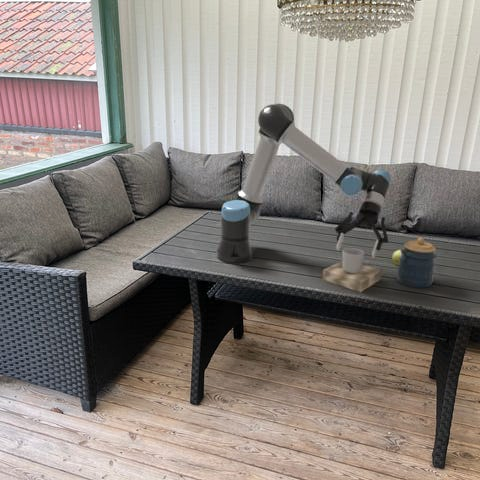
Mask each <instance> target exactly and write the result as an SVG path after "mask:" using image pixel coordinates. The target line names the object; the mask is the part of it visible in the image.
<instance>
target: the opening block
mask: <svg viewBox="0 0 480 480" xmlns="http://www.w3.org/2000/svg"><path fill="white" fill-rule="evenodd" d="M381 278H382V269H380V268H376V267H375V268H374V267H372V266H369V265H364V264H362V266H361V269H360V271H359V272H358V273H348V272H345V271H344V270H343V267H342V260H340V261H338V262H336V263H335V264H333V265H331V266H328V267H326V268H324V269H322V280H323V281H326V282H328V283H332V284H334V285H338V286H341V287H344V288H347V289H350V290H353V291H356V292H359V293H362V292H363V291H365V290H367V289H369V288H370V287H371V286H372V285H375V284H376V283H377V282H379V281H381Z"/></svg>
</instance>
